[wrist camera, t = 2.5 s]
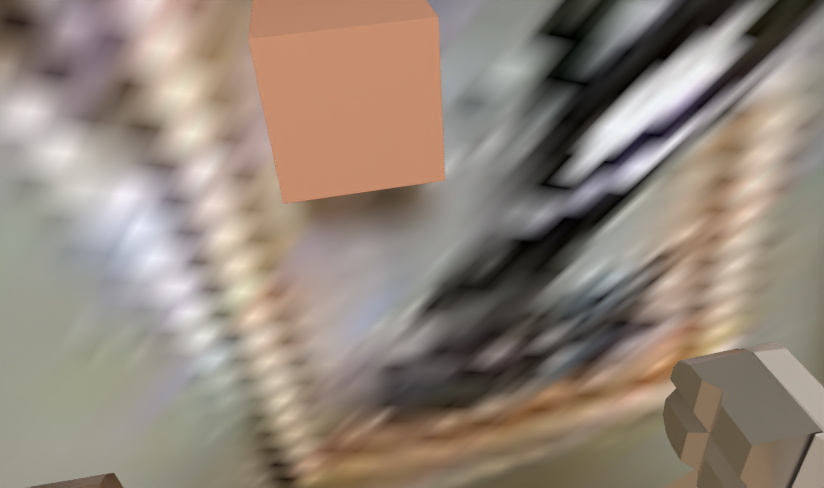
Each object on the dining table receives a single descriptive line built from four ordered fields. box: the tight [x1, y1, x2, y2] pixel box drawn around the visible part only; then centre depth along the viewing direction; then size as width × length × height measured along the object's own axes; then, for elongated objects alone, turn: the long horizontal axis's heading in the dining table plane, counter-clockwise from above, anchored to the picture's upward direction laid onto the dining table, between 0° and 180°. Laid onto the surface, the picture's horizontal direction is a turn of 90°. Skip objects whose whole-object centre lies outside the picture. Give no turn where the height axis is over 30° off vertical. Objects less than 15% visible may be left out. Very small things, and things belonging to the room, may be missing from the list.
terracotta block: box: [248, 0, 445, 204], centre depth 20 cm, size 5×5×5 cm
